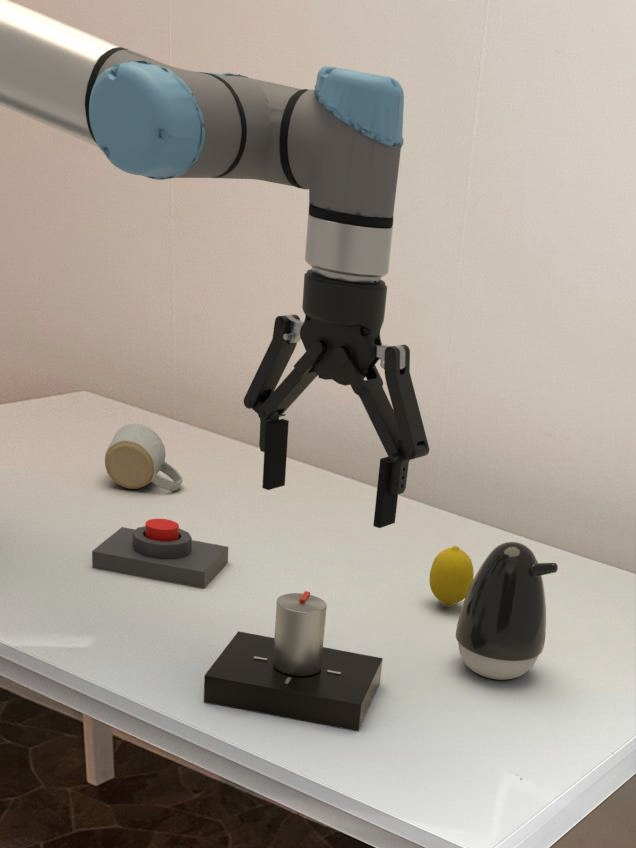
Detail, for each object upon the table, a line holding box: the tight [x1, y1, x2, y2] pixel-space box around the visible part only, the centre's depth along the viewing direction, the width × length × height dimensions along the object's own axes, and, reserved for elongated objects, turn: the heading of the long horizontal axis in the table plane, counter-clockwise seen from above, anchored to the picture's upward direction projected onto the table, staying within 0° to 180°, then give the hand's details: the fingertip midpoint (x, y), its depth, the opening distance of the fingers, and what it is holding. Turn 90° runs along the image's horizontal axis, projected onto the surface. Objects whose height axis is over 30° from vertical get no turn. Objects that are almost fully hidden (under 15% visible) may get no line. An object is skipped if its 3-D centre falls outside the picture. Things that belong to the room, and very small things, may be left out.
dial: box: [273, 590, 328, 676], centre depth 121 cm, size 5×5×7 cm
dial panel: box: [203, 630, 384, 732], centre depth 124 cm, size 16×12×3 cm
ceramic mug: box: [104, 423, 184, 492], centre depth 172 cm, size 11×8×8 cm
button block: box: [91, 525, 229, 589], centre depth 147 cm, size 14×10×4 cm
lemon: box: [429, 545, 475, 608], centre depth 149 cm, size 6×6×8 cm
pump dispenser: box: [455, 541, 559, 681], centre depth 133 cm, size 10×10×15 cm
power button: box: [144, 518, 180, 541], centre depth 146 cm, size 4×4×2 cm
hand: (327, 505), depth 118 cm, fingers open, 13 cm apart
